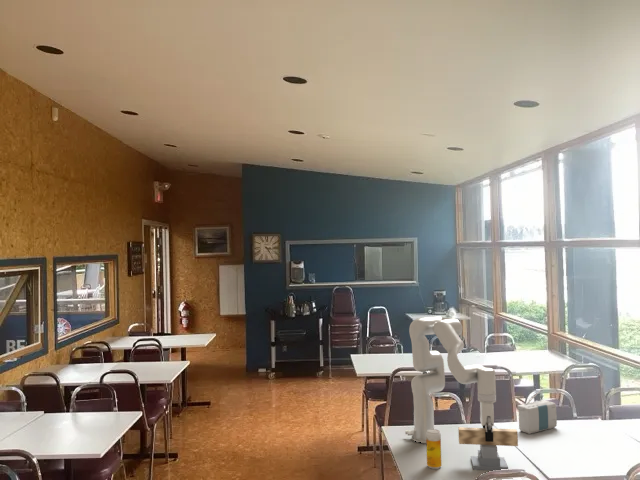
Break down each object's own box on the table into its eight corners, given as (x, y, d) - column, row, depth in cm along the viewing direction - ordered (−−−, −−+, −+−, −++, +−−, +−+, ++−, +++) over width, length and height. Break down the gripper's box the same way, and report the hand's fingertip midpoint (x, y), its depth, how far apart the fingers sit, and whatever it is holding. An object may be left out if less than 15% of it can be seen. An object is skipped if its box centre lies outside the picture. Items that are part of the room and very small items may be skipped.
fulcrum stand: (473, 469, 234) (472, 447, 234) (470, 459, 245) (470, 438, 246) (508, 471, 231) (507, 449, 231) (504, 460, 243) (503, 439, 243)
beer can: (425, 464, 240) (424, 429, 241) (439, 463, 241) (438, 428, 241) (429, 469, 234) (428, 433, 235) (443, 469, 235) (442, 432, 235)
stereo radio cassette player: (530, 435, 277) (528, 394, 278) (516, 431, 285) (515, 391, 285) (557, 428, 288) (556, 389, 289) (544, 424, 295) (543, 386, 296)
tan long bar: (459, 443, 239) (458, 429, 239) (458, 441, 243) (458, 427, 243) (517, 446, 235) (517, 431, 235) (516, 443, 238) (516, 429, 238)
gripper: (476, 392, 249) (477, 431, 248) (479, 402, 232) (481, 444, 231) (493, 392, 247) (494, 432, 247) (498, 402, 230) (499, 444, 230)
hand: (488, 437), depth 239 cm, fingers open, 9 cm apart
